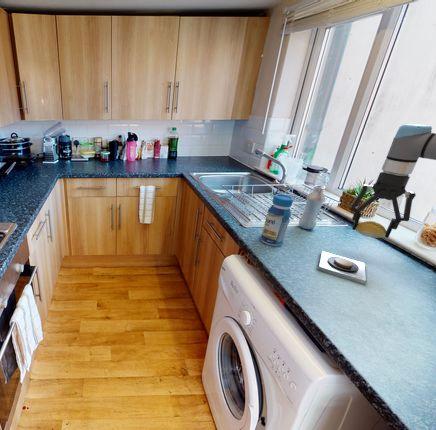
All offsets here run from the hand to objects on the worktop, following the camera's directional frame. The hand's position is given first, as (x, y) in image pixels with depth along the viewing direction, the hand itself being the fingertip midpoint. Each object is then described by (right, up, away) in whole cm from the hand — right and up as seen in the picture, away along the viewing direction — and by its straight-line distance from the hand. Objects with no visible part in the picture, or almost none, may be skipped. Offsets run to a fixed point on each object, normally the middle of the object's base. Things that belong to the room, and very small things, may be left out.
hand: (369, 232), depth 105 cm
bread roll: (0, 0, 0) cm, 0 cm away
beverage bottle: (-28, -5, +14) cm, 32 cm away
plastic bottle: (-6, 0, +26) cm, 27 cm away
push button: (-12, -13, -2) cm, 18 cm away
